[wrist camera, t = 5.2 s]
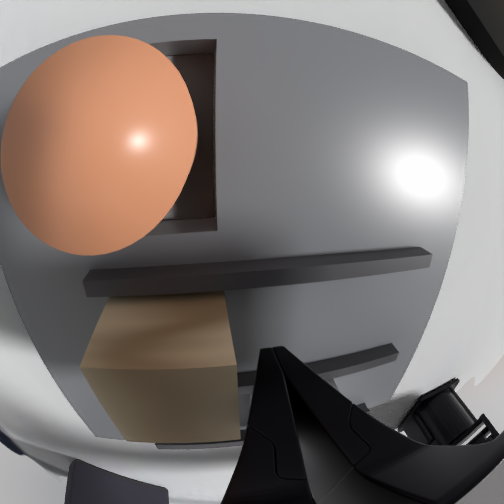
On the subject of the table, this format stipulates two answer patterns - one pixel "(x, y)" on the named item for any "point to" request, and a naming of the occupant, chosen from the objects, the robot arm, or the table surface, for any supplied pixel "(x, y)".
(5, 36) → the table surface
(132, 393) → the beech slider
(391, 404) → the table surface
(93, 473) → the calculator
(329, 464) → the robot arm
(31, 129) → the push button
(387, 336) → the grey railed board
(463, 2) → the wireless charger
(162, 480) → the table surface
